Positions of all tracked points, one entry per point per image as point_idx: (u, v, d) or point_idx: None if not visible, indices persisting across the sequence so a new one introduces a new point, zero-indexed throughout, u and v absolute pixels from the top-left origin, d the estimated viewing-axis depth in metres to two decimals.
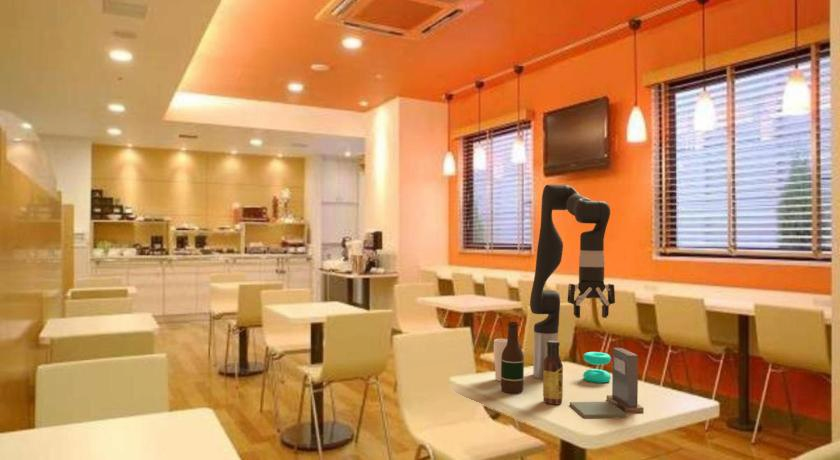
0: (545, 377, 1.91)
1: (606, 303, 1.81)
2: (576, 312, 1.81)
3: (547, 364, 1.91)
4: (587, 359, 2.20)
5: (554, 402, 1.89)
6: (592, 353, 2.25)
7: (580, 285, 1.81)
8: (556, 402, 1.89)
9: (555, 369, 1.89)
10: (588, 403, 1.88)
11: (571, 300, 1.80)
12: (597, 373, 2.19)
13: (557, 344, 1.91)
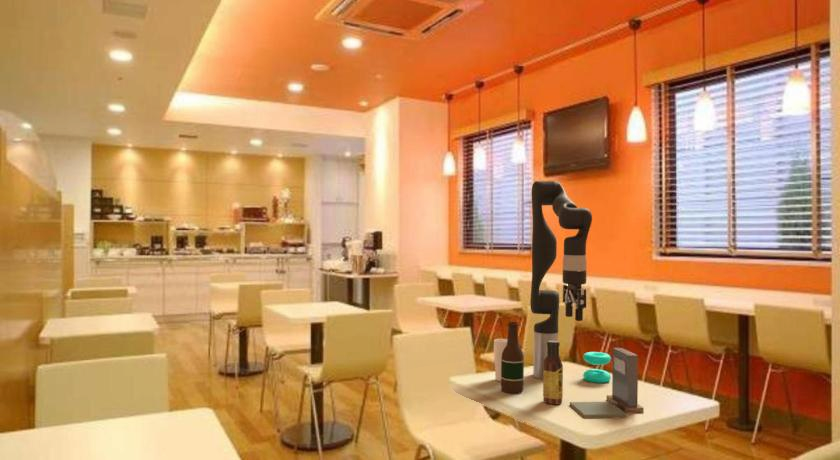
0: (545, 377, 1.91)
1: (572, 303, 1.96)
2: None
3: (547, 364, 1.91)
4: (587, 359, 2.20)
5: (554, 402, 1.89)
6: (592, 353, 2.25)
7: (581, 289, 1.88)
8: (556, 402, 1.89)
9: (555, 369, 1.89)
10: (588, 403, 1.88)
11: None
12: (597, 373, 2.19)
13: (557, 344, 1.91)
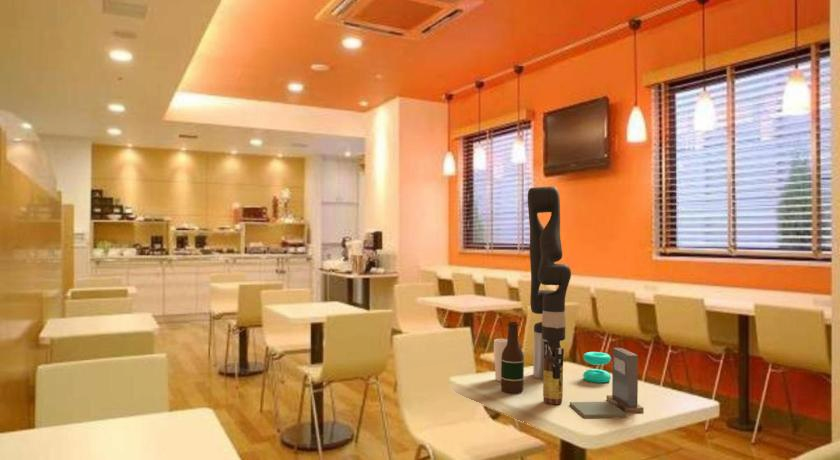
0: (545, 377, 1.91)
1: None
2: None
3: (547, 364, 1.91)
4: (587, 359, 2.20)
5: (554, 402, 1.89)
6: (592, 353, 2.25)
7: (559, 346, 1.88)
8: (556, 402, 1.89)
9: None
10: (588, 403, 1.88)
11: (562, 363, 1.87)
12: (597, 373, 2.19)
13: None
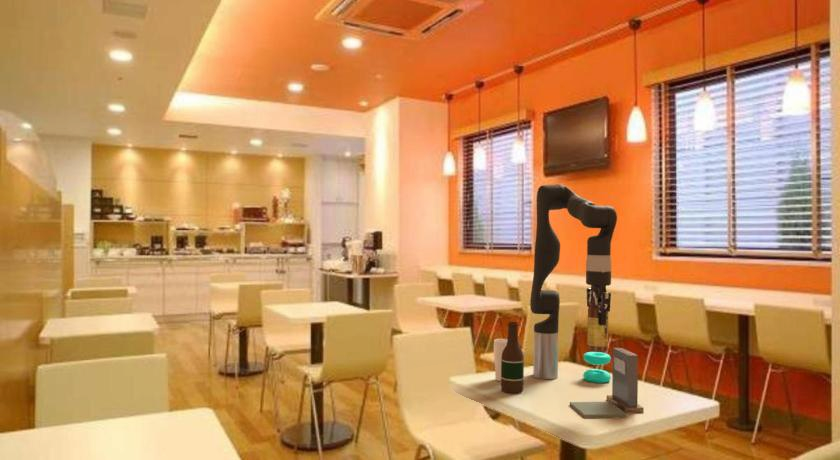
0: (590, 324, 1.82)
1: None
2: None
3: (592, 310, 1.82)
4: (587, 359, 2.20)
5: (600, 350, 1.80)
6: (592, 353, 2.25)
7: (606, 291, 1.80)
8: (602, 350, 1.80)
9: None
10: (588, 403, 1.88)
11: None
12: (597, 373, 2.19)
13: None
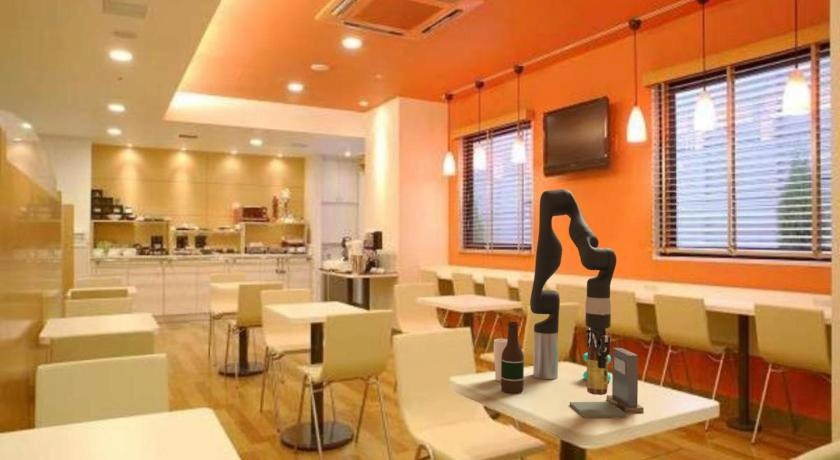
0: (589, 366, 1.82)
1: None
2: None
3: (591, 352, 1.82)
4: None
5: (599, 393, 1.80)
6: None
7: (605, 334, 1.80)
8: (601, 393, 1.80)
9: None
10: (588, 403, 1.88)
11: None
12: None
13: None
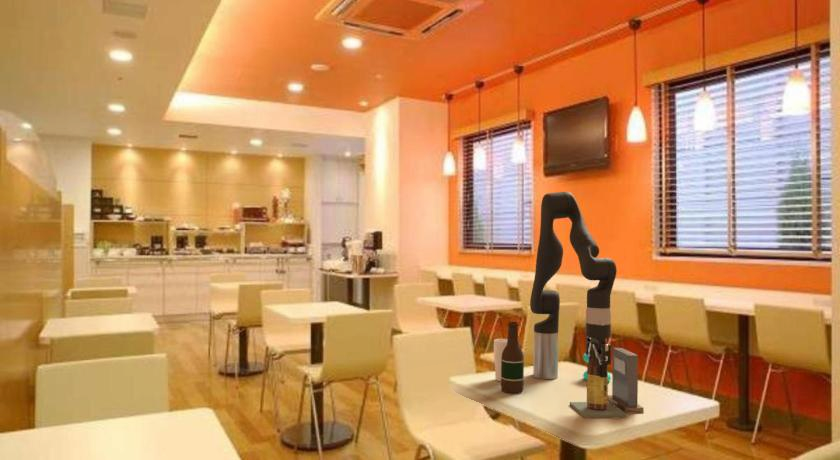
0: (589, 381, 1.82)
1: None
2: None
3: (591, 367, 1.82)
4: (587, 359, 2.20)
5: (599, 408, 1.80)
6: None
7: (605, 344, 1.80)
8: (601, 408, 1.80)
9: None
10: None
11: None
12: None
13: None
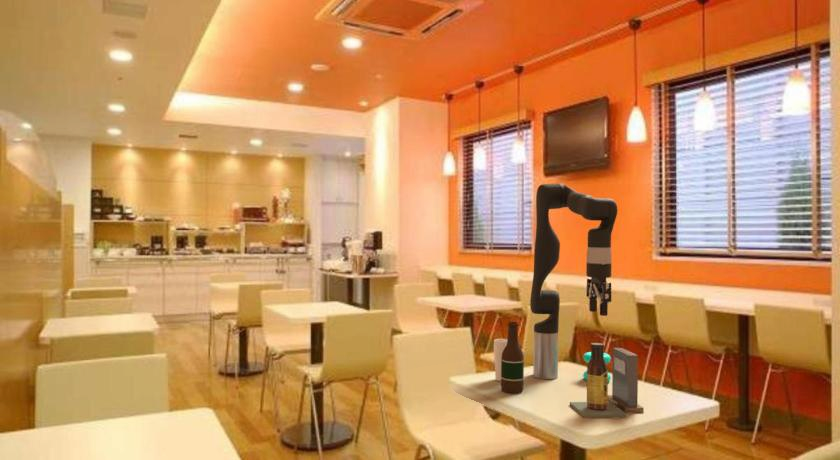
0: (589, 381, 1.82)
1: (596, 297, 1.89)
2: None
3: (591, 367, 1.82)
4: (587, 359, 2.20)
5: (599, 408, 1.80)
6: None
7: None
8: (601, 408, 1.80)
9: (600, 373, 1.81)
10: None
11: None
12: None
13: (602, 347, 1.82)
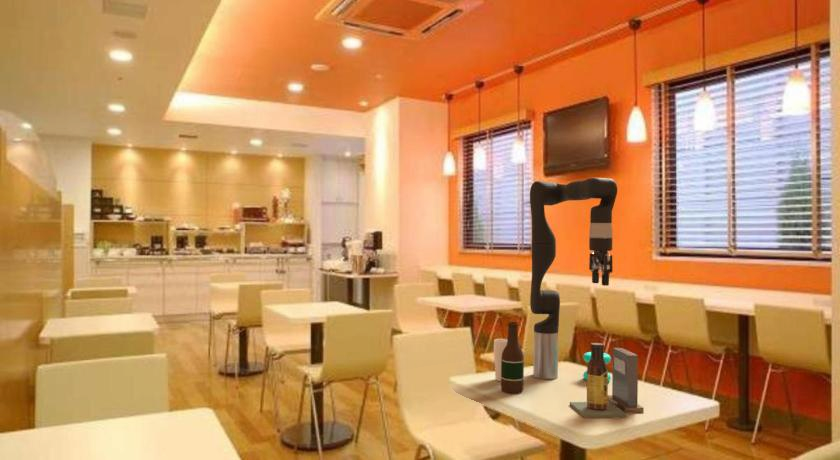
0: (589, 381, 1.82)
1: (598, 270, 2.04)
2: None
3: (591, 367, 1.82)
4: (587, 359, 2.20)
5: (599, 408, 1.80)
6: None
7: None
8: (601, 408, 1.80)
9: (600, 373, 1.81)
10: None
11: None
12: None
13: (602, 347, 1.82)
